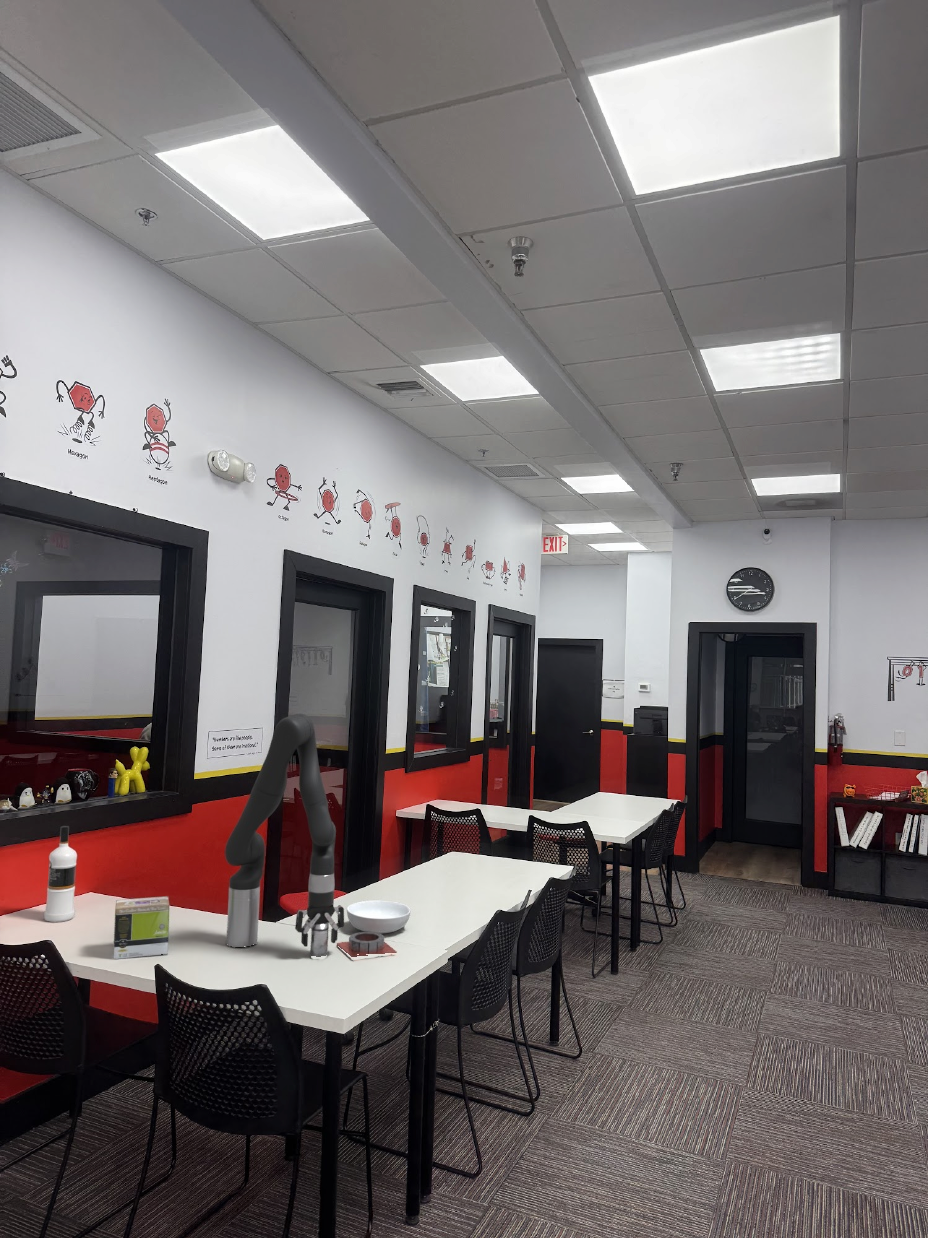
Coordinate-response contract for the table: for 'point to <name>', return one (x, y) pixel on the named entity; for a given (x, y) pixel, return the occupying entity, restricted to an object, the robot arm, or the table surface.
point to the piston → (319, 939)
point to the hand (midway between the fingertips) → (319, 944)
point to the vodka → (61, 881)
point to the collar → (366, 944)
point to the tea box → (141, 927)
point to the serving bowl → (378, 916)
